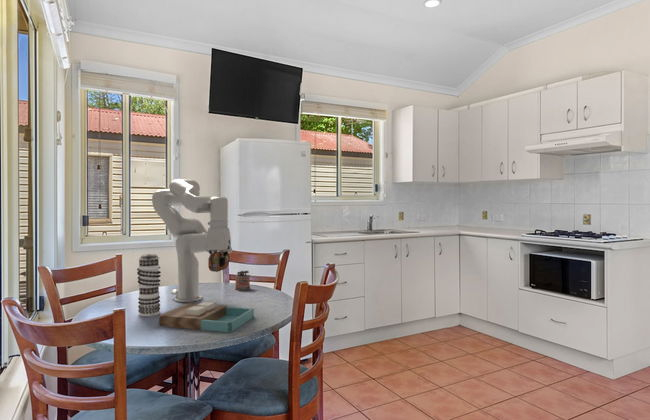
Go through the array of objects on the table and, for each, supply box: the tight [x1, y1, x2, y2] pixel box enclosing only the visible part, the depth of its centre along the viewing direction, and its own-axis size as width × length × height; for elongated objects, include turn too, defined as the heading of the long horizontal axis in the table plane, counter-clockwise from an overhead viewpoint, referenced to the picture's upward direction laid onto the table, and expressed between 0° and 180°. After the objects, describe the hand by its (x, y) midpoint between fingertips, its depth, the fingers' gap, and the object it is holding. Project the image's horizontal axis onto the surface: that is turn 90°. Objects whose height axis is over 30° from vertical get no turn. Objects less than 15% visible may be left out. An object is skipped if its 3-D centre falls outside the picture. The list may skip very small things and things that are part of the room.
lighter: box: [234, 270, 251, 291], centre depth 221 cm, size 8×3×10 cm, turn 117°
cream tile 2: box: [197, 301, 216, 311], centre depth 166 cm, size 5×5×2 cm
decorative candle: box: [136, 253, 162, 317], centre depth 173 cm, size 9×9×25 cm
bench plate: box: [158, 302, 228, 331], centre depth 164 cm, size 18×20×4 cm
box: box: [200, 306, 255, 333], centre depth 160 cm, size 12×20×4 cm, turn 166°
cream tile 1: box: [187, 306, 205, 315], centre depth 159 cm, size 5×5×2 cm
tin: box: [207, 251, 230, 273], centre depth 183 cm, size 15×3×8 cm, turn 166°
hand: (218, 265), depth 183 cm, fingers closed on tin, 2 cm apart
